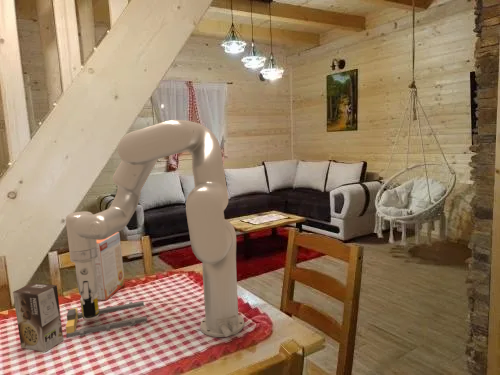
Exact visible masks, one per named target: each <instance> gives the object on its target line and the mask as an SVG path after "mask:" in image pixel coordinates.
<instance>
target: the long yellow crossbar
mask: <svg viewBox="0 0 500 375" xmlns="http://www.w3.org/2000/svg"><path fill="white" fill-rule="evenodd" d="M78 313H79V312H78V307H75V308H74V307H73V308H70V309H68V310H67V313H66V325H65V333H66V334H67V333H72V332H74V331H75V330H77V326H78V325H77V324H78V319H79V318H78Z"/></svg>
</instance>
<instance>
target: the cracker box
mask: <svg viewBox="0 0 500 375" xmlns="http://www.w3.org/2000/svg"><path fill="white" fill-rule="evenodd" d="M96 241H97V251H98V257H97V258H96V259H95V262H96V270H97V278H98V291H97V292H96V295H97V297H98V301H108V300H109V299H110V298H111V297H112V296H113V295H114V294H116V292H118V291H119V290H120V289H122V288H123V286H124V285H126V282H125V273H124V272H125V271H124V263H123V255H122V254H123V253H122V243H121V237H120V231H119V232H117V233H115V234H113V235H112V236H110V237H108V238H106V239H103V240H96Z"/></svg>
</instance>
